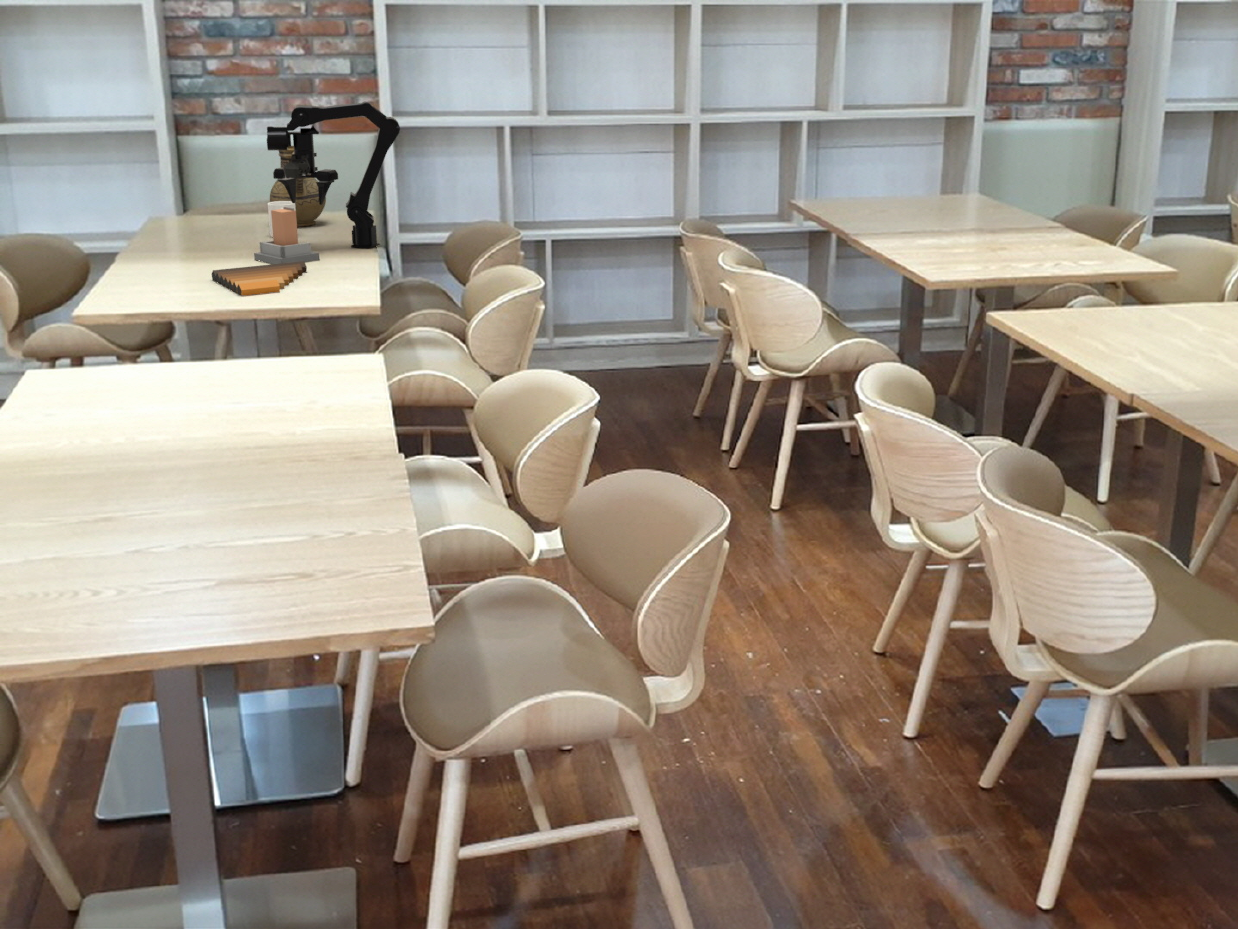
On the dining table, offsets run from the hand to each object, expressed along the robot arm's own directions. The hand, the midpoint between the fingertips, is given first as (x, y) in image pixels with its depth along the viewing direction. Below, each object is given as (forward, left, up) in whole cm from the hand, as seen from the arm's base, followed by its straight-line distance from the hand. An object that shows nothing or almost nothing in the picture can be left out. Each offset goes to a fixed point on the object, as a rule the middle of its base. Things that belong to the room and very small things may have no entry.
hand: (307, 203), depth 418 cm
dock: (-4, +19, -13) cm, 24 cm away
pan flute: (-19, +49, -14) cm, 54 cm away
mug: (+18, -14, -13) cm, 26 cm away
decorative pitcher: (+26, -36, -13) cm, 46 cm away
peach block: (-4, +19, -11) cm, 23 cm away
